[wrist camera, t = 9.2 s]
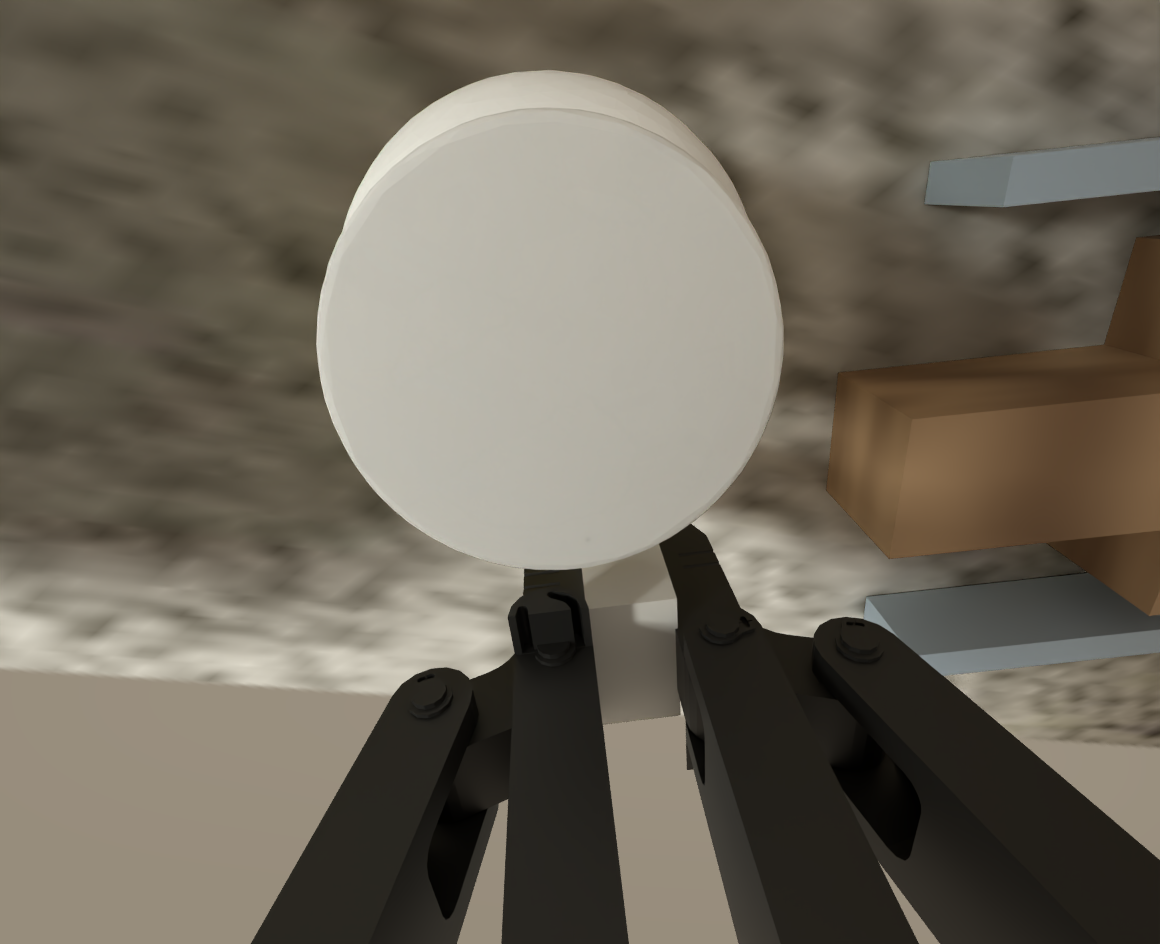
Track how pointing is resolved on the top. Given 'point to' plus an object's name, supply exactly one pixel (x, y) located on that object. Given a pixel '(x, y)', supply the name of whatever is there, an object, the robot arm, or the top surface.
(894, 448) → the t block
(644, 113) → the pill bottle
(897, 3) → the top surface
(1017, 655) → the dock
